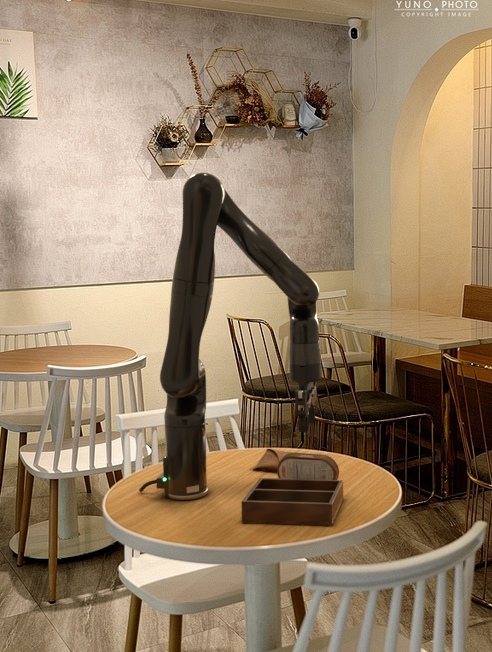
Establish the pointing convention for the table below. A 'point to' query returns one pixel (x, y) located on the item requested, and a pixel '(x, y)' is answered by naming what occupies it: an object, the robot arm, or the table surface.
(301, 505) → the organizer
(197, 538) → the table surface
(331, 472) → the tin
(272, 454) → the sunglasses case
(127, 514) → the table surface
